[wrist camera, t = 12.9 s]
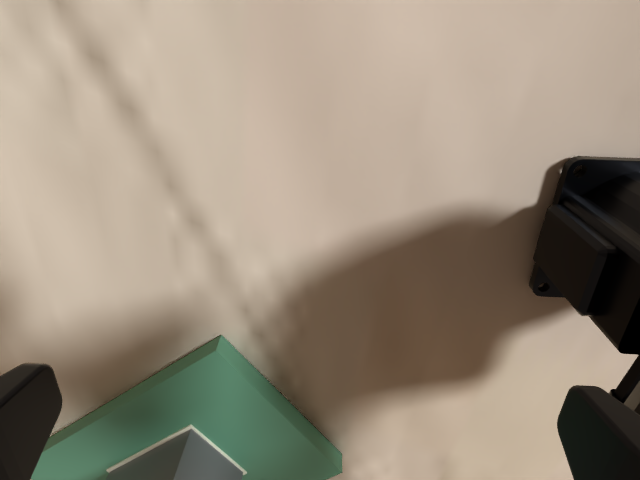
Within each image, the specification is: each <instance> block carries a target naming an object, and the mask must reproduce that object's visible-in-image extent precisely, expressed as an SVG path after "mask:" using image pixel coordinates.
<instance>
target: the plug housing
mask: <svg viewBox="0 0 640 480" xmlns="http://www.w3.org/2000/svg"><path fill="white" fill-rule="evenodd" d="M242 476H243V472H242V471H241V470H240V469H239V468H238V467H236V466H235V465H234V464H233V463H232V462H230V461H229V460H228V459H227V458H226V457H224V456H223V455H222V454H221V453H220V452H219V451H217V450H216V449H215V448H214V447H213V446H211V445H210V444H209V443H208V442H207V441H205V440H204V439H203V438H202V437H201V436H200V435H198V434H197V433H196V432H195V431H194V430H192V429H190V430H188V431H186V432H184V433H182V434H180V435H178V436H176V437H175V438H173V439H171V440H169V441H167V442H165V443H163V444H161V445H159V446H158V447H156V448H154V449H152V450H150V451H148V452H146V453H144V454H143V455H141V456H139V457H137V458H135V459H133V460H131V461H129V462H127V463H126V464H124V465H122V466H120V467H118V468H116V469H114V470H112V471H111V472H109V474H108V476H107V478H106V480H242Z"/></svg>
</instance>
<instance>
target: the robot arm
mask: <svg viewBox="0 0 640 480" xmlns="http://www.w3.org/2000/svg"><path fill="white" fill-rule="evenodd" d="M579 165H582V169H581V170H580V172H578V173H577V174H574V170H575V168H576V167H578V166H579ZM533 259H534V261H535V265H534V268H533V272H532V275H531V278H530V282H529V286H530V288H531V290H532V291H533V292H534V294H536V295H537V296H545V297H565V298H566V299H567V300H568V301H569V302H570V304H571V305H572V306H573V307H574V308H575V310H576V311H577V312H578V313H579V314H580V315H581V316H589V317H590V318H591V320H592V321H593V322H594V323H595V324H596V325H597V326H598V328H599V329H600V330H601V331H602V332H603V333H604V335H605V336H606V337H607V338H608V339H609V340H610V341H611V343H612V344H613V345H614V346H615V347H616V348H617V350H618V351H619V352H620V353H623V354H638V355H639V356H638V357H637V359H636V360H635V361H634V363H633V364H632V366H631V367H630V369H629V370H628V372H627V373H626V375H625V376H624V378H623V379H622V381H621V382H620V384H619V385H618V387H617V388H616V389H612V390H611V391H610V392H609V393H607V392H606V391H604V390H603V389H601V388H599V387H596V386H579V385H576V386H573V387H571V388H570V389H569V391H568V393H567V396H566V399H565V401H564V404H563V406H562V409H561V411H560V414H559V416H558V421H557V428H558V433H559V436H560V439H561V442H562V445H563V448H564V451H565V454H566V457H567V460H568V463H569V466H570V469H571V472H572V475H573V478H574V480H640V158H614V157H587V156H577V157H573V158H571V159H569V160H568V161H567V162H566V163H565V165H564V167H563V169H562V173H561V176H560V180H559V183H558V186H557V190H556V193H555V197H554V200H553V203H552V205H551V206H550V207H549V208H548V209H547V212H546V216H545V219H544V223H543V226H542V230H541V233H540V236H539V240H538V243H537V247H536V250H535V254H534V257H533ZM545 282H546V283H545ZM542 283H545V285H544V286H542V287H539V285H540V284H542ZM61 408H62V396H61V393H60V390H59V387H58V383H57V380H56V377H55V374H54V371H53V369H52V367H50V366H49V365H47V364H39V363H25V364H21V365H19V366H17V367H16V368H14V369H12V370H10V371H9V372H7V373H5V374H3V375H1V376H0V480H30V479H31V477H32V474H33V472H34V470H35V468H36V465H37V463H38V461H39V459H40V456H41V454H42V452H43V450H44V448H45V445H46V443H47V441H48V439H49V436H50V434H51V432H52V430H53V427H54V425H55V423H56V421H57V418H58V416H59V414H60V411H61Z"/></svg>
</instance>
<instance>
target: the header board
mask: <svg viewBox="0 0 640 480" xmlns="http://www.w3.org/2000/svg"><path fill="white" fill-rule="evenodd" d="M190 429H192V430H194V431H195V432H196V433H197V434H198V435H200V436H201V437H202V438H203V439H204V440H205V441H207V442H208V443H209V444H210V445H211V446H213V447H214V448H215V449H216V450H217V451H219V452H220V453H221V454H222V455H223V456H224V457H226V458H227V459H228V460H229V461H230V462H232V463H233V464H234V465H235V466H236V467H238V468H239V469H240V470H241V471H242V472H243V476H242V480H326V479H329V478H331V477H333V476H335V475H338V474H340V473H342V454H341V453H340V452H339V451H338V450H337V449H336V448H335V447H334V446H333V445H332V444H331V443H330V442H329V441H328V440H327V439H326V438H325V437H324V436H323V435H322V434H321V433H320V432H319V431H318V430H317V429H316V428H315V427H314V426H313V425H312V424H311V423H310V422H309V421H308V420H307V419H306V418H305V417H304V416H303V415H302V414H301V413H300V412H299V411H298V410H297V409H296V408H295V407H294V406H293V405H292V404H291V403H290V402H289V401H288V400H287V399H286V398H285V397H284V396H283V395H282V394H281V393H280V392H279V391H278V390H277V389H276V388H275V387H274V386H273V385H272V384H271V383H270V382H269V381H268V380H266V379H265V378H264V377H263V376H262V375H261V374H260V373H259V372H258V371H257V370H256V369H255V368H254V367H253V366H252V365H251V364H250V363H249V362H248V361H247V360H246V359H245V358H244V357H243V356H242V355H241V354H240V353H239V352H238V351H237V350H236V349H235V348H234V347H233V346H232V345H231V344H230V343H229V342H228V341H227V340H226V339H225V338H224V337H223V336H222V335H220V336H219V337H217V338H215V339H214V340H212V341H210V342H209V343H207V344H205V345H204V346H202V347H200V348H199V349H197V350H195V351H193V352H192V353H190V354H188V355H187V356H185V357H183V358H182V359H180V360H178V361H177V362H175V363H173V364H172V365H170V366H168V367H167V368H165V369H163V370H162V371H160V372H158V373H157V374H155V375H153V376H152V377H150V378H148V379H147V380H145V381H143V382H142V383H140V384H138V385H137V386H135V387H133V388H132V389H130V390H128V391H127V392H125V393H123V394H122V395H120V396H118V397H117V398H115V399H113V400H111V401H110V402H108V403H106V404H105V405H103V406H101V407H100V408H98V409H96V410H95V411H93V412H91V413H90V414H88V415H86V416H85V417H83V418H81V419H80V420H78V421H76V422H75V423H73V424H71V425H70V426H68V427H66V428H65V429H63V430H61V431H60V432H58V433H56V434H55V435H53V436H51V437H50V438H49V439H48V441H47V443H46V445H45V448H44V450H43V452H42V454H41V456H40V459H39V461H38V463H37V465H36V468H35V470H34V472H33V474H32V477H31V479H32V480H106V478H107V476H108V474H109V472H111V471H112V470H114V469H116V468H118V467H120V466H122V465H124V464H126V463H127V462H129V461H131V460H133V459H135V458H137V457H139V456H141V455H143V454H144V453H146V452H148V451H150V450H152V449H154V448H156V447H158V446H159V445H161V444H163V443H165V442H167V441H169V440H171V439H173V438H175V437H176V436H178V435H180V434H182V433H184V432H186V431H188V430H190Z"/></svg>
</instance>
